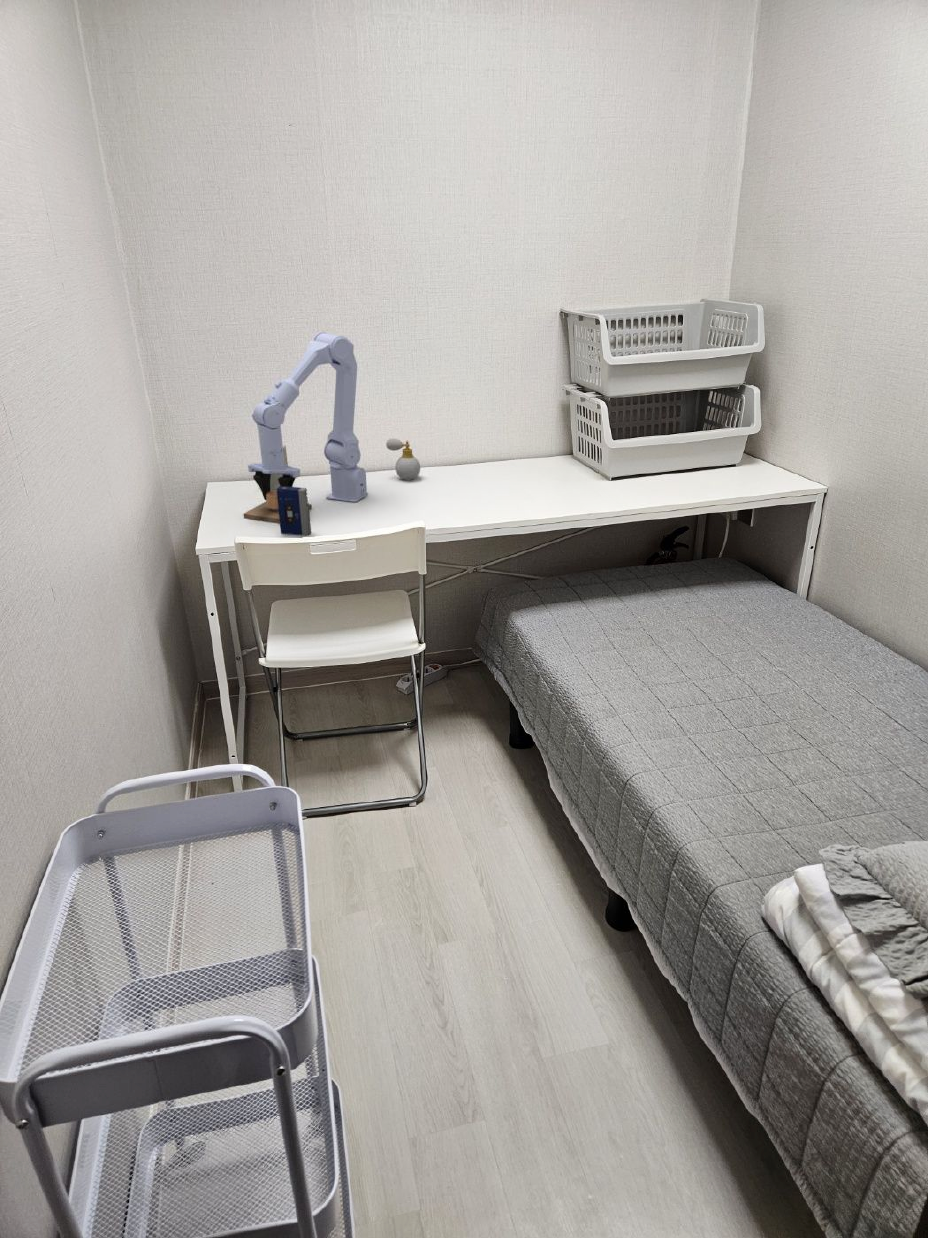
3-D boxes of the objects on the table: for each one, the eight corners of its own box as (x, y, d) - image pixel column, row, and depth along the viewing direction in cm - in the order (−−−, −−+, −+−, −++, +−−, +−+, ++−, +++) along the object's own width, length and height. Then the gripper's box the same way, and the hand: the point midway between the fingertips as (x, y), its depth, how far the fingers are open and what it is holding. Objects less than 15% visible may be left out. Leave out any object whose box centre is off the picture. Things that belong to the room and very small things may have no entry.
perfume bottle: (422, 481, 247) (421, 441, 242) (390, 483, 245) (388, 443, 240) (418, 474, 254) (417, 435, 248) (386, 476, 252) (385, 437, 246)
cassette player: (280, 533, 209) (275, 487, 203) (284, 530, 211) (279, 484, 205) (308, 535, 208) (304, 489, 202) (311, 532, 210) (307, 486, 204)
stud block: (312, 508, 226) (310, 490, 223) (286, 524, 215) (284, 505, 212) (270, 503, 230) (268, 484, 227) (244, 518, 219) (241, 499, 216)
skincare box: (290, 485, 243) (286, 445, 238) (286, 490, 240) (282, 449, 234) (269, 485, 244) (265, 444, 238) (265, 489, 240) (260, 448, 235)
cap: (291, 503, 222) (290, 491, 221) (280, 509, 218) (279, 497, 217) (274, 501, 224) (273, 488, 222) (263, 507, 220) (262, 494, 218)
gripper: (239, 451, 213) (245, 501, 219) (288, 457, 209) (292, 508, 215) (254, 444, 219) (260, 493, 225) (302, 449, 215) (306, 500, 221)
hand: (277, 500), depth 220 cm, fingers closed on cap, 5 cm apart
